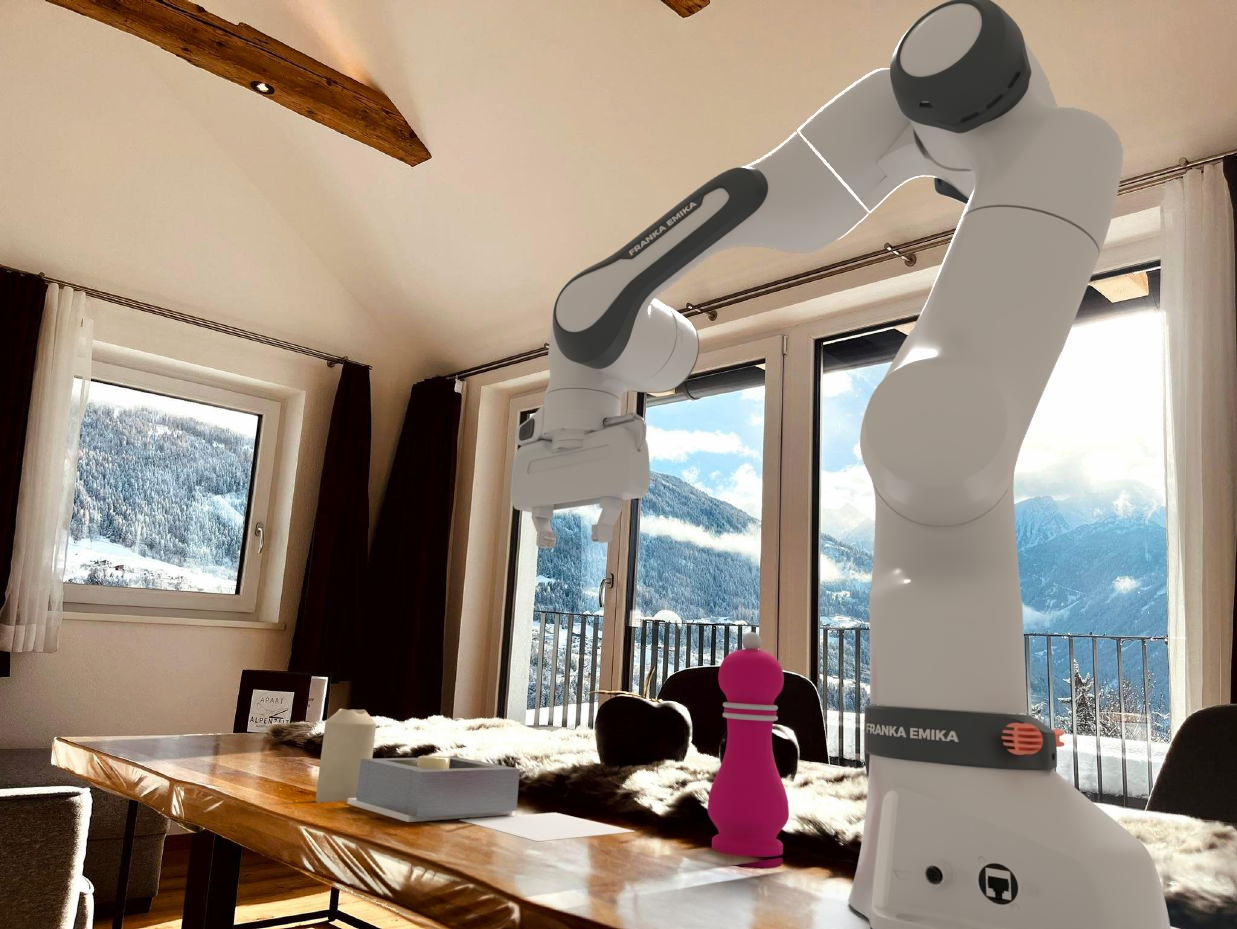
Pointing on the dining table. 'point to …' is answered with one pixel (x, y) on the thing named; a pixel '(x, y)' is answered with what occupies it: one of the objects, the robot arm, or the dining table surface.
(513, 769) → the collar
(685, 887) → the dining table surface
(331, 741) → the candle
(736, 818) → the pepper mill
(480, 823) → the mat
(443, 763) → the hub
